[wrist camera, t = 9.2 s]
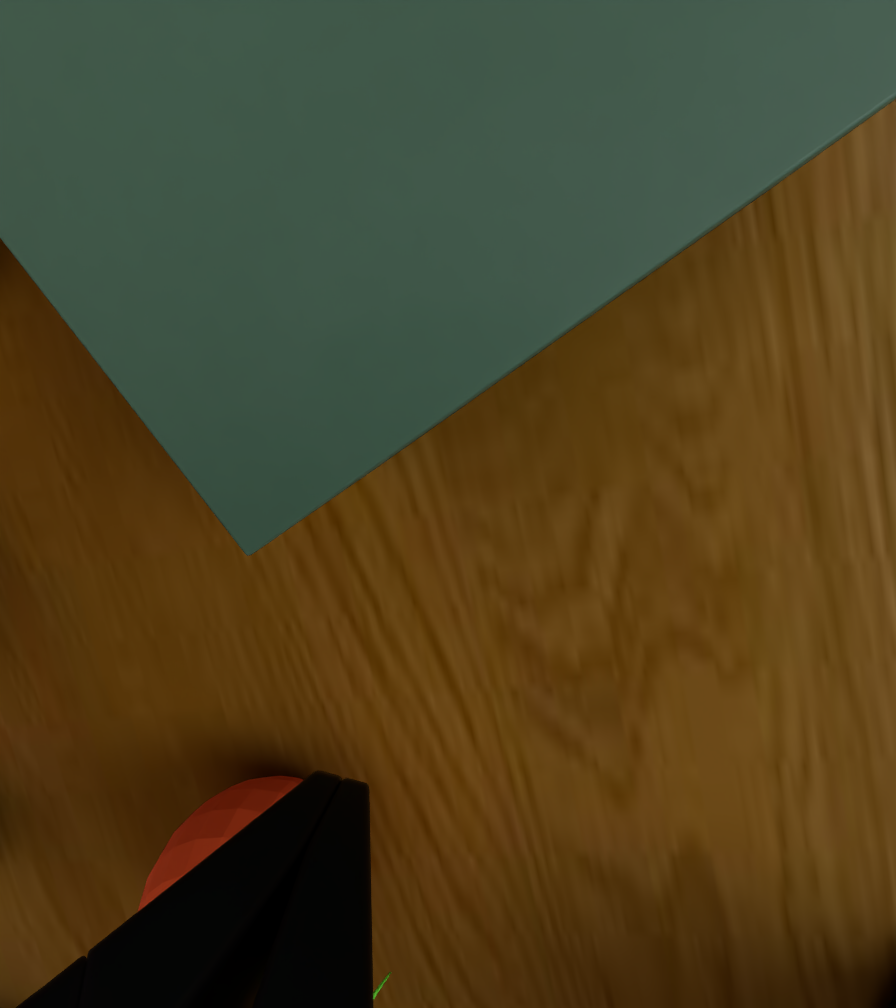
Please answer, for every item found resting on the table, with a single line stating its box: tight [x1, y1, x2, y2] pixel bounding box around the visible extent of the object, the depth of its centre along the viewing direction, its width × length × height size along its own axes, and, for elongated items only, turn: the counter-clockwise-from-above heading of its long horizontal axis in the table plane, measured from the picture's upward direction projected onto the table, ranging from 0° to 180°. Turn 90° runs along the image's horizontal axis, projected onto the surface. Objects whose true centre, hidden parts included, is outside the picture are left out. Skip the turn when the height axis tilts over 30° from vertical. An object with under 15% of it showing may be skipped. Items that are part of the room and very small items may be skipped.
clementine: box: [138, 776, 391, 999], centre depth 17 cm, size 8×7×7 cm
